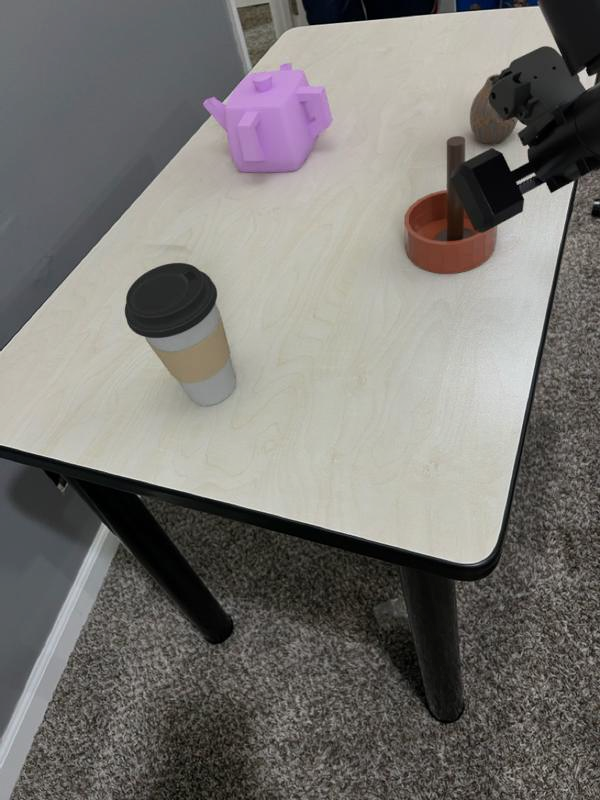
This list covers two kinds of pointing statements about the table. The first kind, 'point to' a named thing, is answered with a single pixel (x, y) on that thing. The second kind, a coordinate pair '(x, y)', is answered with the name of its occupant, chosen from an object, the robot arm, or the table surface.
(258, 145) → the teakettle
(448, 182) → the dark brown rod
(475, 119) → the vase
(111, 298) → the table surface
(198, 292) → the coffee cup
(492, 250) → the bowl
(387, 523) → the table surface
